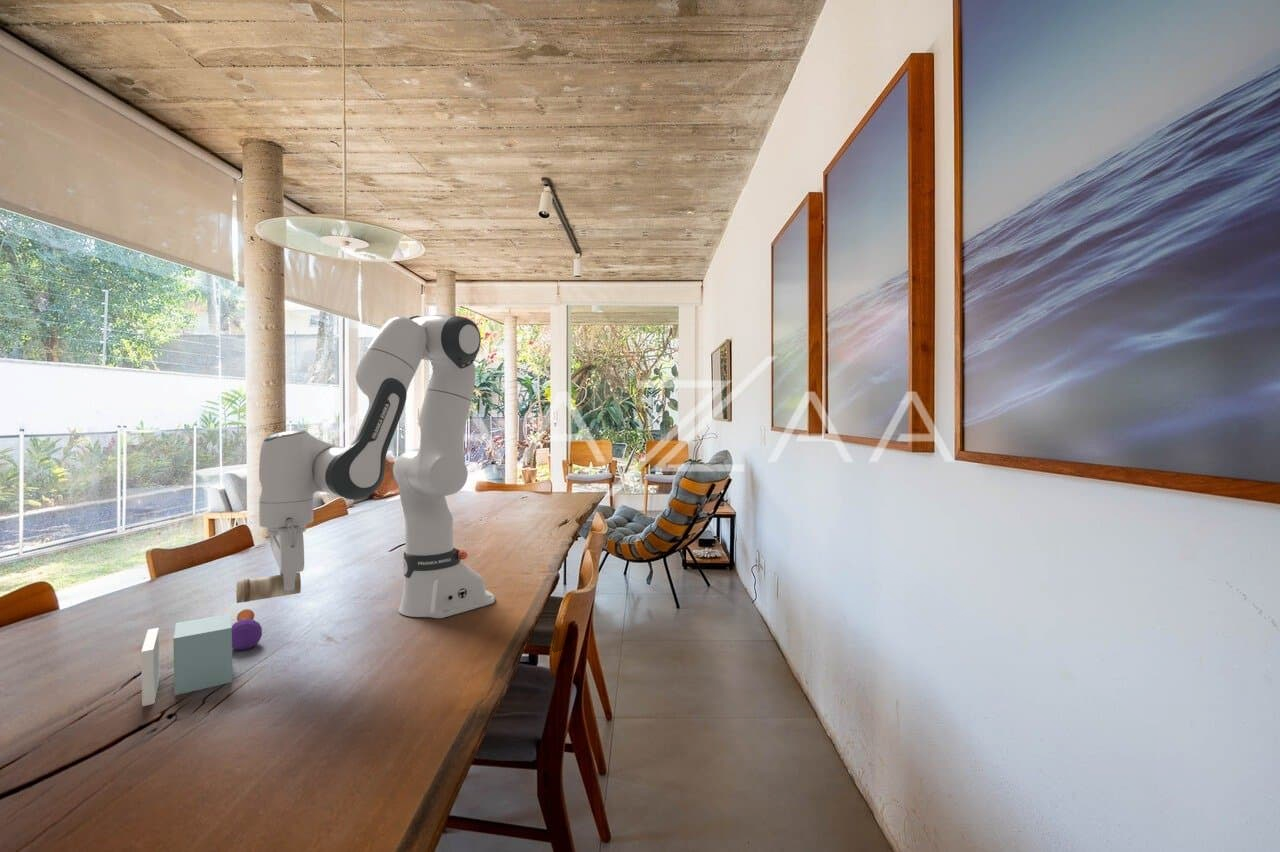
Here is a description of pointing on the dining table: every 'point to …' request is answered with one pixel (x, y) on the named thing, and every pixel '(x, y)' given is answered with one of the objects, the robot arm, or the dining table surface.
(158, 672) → the slab
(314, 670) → the dining table surface
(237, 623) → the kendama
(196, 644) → the block
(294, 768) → the dining table surface
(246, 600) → the dowel
